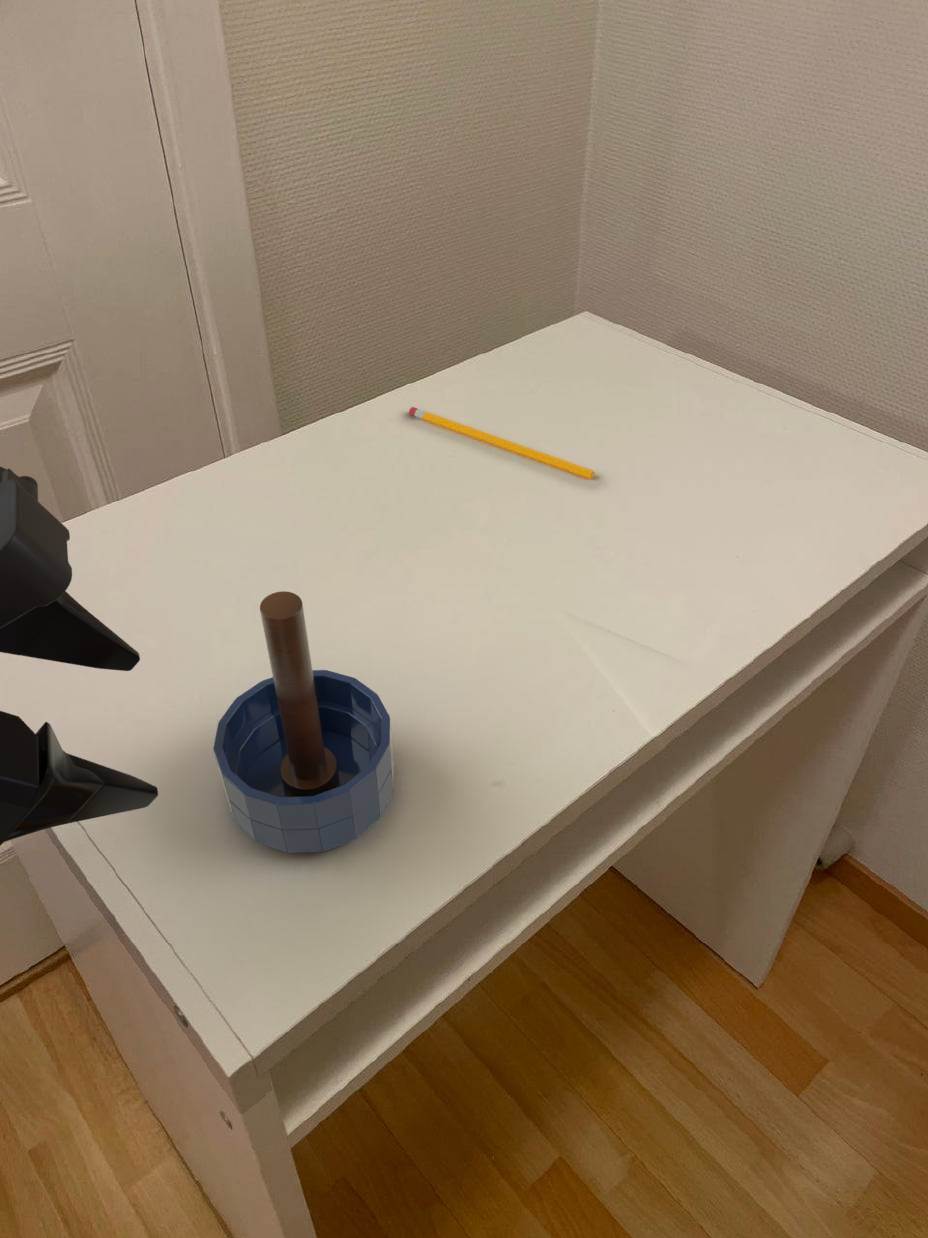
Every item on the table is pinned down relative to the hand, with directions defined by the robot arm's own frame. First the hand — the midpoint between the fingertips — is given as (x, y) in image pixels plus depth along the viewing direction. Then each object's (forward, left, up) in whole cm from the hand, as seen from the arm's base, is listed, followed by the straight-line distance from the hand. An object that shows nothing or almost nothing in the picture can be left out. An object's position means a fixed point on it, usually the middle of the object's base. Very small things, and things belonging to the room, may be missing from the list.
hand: (143, 725), depth 47 cm
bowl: (+8, -1, -8) cm, 11 cm away
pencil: (+34, +27, -9) cm, 44 cm away
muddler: (+8, -1, -8) cm, 11 cm away
